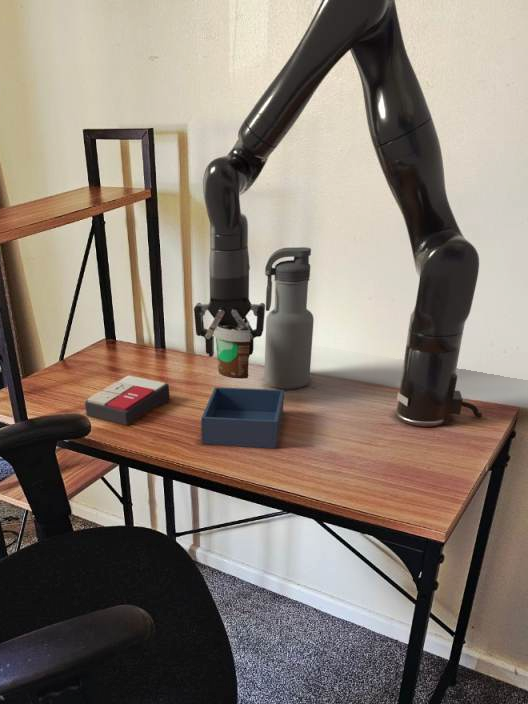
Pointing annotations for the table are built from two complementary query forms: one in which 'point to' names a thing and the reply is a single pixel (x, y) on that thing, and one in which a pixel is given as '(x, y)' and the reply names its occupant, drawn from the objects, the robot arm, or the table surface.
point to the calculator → (127, 399)
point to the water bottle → (288, 320)
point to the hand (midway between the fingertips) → (229, 355)
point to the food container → (232, 351)
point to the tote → (243, 417)
